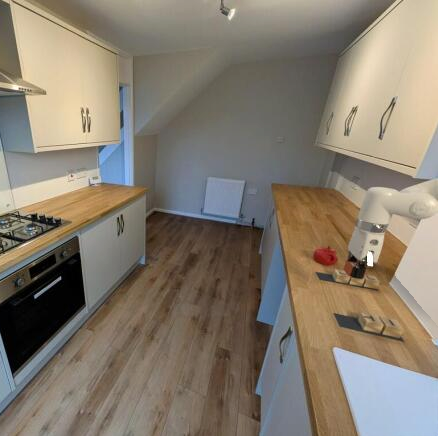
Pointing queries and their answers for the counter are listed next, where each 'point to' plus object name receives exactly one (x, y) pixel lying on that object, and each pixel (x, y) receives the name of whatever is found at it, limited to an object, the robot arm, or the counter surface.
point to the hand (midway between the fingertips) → (353, 273)
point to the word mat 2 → (358, 326)
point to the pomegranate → (325, 256)
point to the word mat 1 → (330, 279)
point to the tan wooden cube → (370, 322)
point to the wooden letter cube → (356, 281)
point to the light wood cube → (370, 281)
